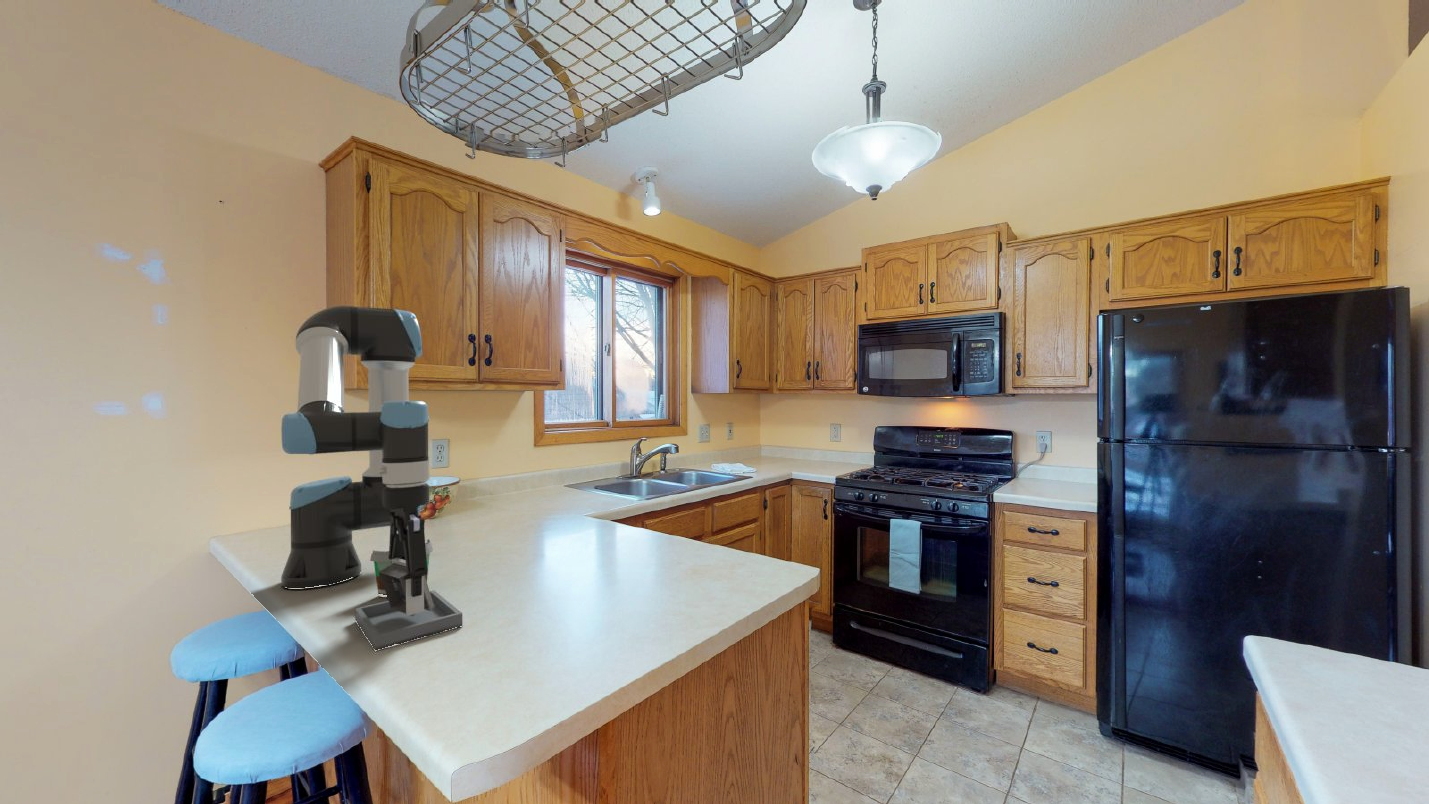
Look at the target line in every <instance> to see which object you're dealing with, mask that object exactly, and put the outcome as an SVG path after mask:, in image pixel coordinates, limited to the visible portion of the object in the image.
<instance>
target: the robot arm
mask: <svg viewBox="0 0 1429 804" xmlns="http://www.w3.org/2000/svg"><path fill="white" fill-rule="evenodd" d="M418 321H419V320H418V319H417V316H416V315H415V313H413V312H411V311H408V310H404V309H403V310H402V309H395V308H381V307H368V306H367V307H366V306H353V305H336V306H331V307H326V308H323V309H322V310H320V311H317V312H316V313H314V314H312V315H311V316H310V317H308V318H307V319H306V320H305V321H304V322H303V323H302V325H301V326H300V327H299V329H298V330H297V333H296V337H295V350H296V351H297V353H298V354H299V355H300V362H299V363H300V365H299V376H298V377H299V380H298V393H297V396H298V397H297V412H293V413H287V414H284V415H283V417H282V419H281V428H280V429H281V448H282V450H283V451H284V452H285V453H286V454H288V455H310V456H311V455H317V454H319V455H320V454H332V453H333V454H335V453H336V454H337V453H347V452H369V454H368V456H369V462H368V463H369V464H368V465H369V466H368V467H367V469H365V471H363V473H362V474H361V475H362V476H361V479H362V480H361V481H353V479H352V477H351V476H338V477H330V478H326V479H325V478H324V479H320V480H316V481H315V480H314V481H311V482H307V483H303V484H300V485H297V486H296V487H295V488H293V489H292V490H291V493H290V504H289V506H288V508H289V510H290V552H289V556H288V557H287V561H286V563H285V565H284V568H283V571H282V574H281V577H280V578H281V585H282V586H283V587H287V588H305V587H314V586H319V585H329V584H333V583H337V582H340V581H343V580H346V579H349V578H351V577H355V576H357V575H359V574H360V572H361V573H362V562H361V559H360V558H359V555H358V552H357V550H356V548H355V546H354V543H353V531H362V530H363V531H364V530H369V529H377V528H384V527H389V548H388V551H389V556H388V557H389V559H390V560H392V559H395V558H399V559H403V560H406V568H407V575H406V576H404V577H403V580H406V615H407V616H409V615H413V614H417V613H421V612H424V575H427V573H428V574H429V568H428V569H427V559H426V546H425V543H426V537H425V534H426V533H425V522H426V520H425V519H424V517H422V515H420V513H421V509H422V506H425V505H427V504H428V503H429V502H430V485H429V484H428V483H427V482H428V481H429V480H430V459H429V422H430V416H429V412H428V410H429V408H428V404H427V403H426V402H424V401H422V400H411V401H410V395H409V394H410V391H409V390H410V387H409V382H410V381H409V374H410V373H409V370H410V369H411V368H412V367H414V366H415V365H416V358H420V357H422V354H423V348H422V346H423V342H422V335H421V329H420V328H421V327H420V325H419V322H418ZM346 355H352V356H353V355H354V356H355V355H356V356H360V363H361V365H362V366H364V367H365V368H366V369H367V372H368V375H367V376H368V412H366V411H361V412H360V411H359V412H357V411H355V412H354V411H353V412H352V411H351V412H346V401H345V398H346V397H345V396H346V395H345V375H344V374H345V372H344V369H345V368H344V366H345V365H344V363H345V362H344V357H345V356H346ZM391 563H392V561H391ZM417 568H419V569H417ZM415 569H416V570H415ZM360 575H361V574H360ZM360 575H359V576H360ZM357 577H358V576H357ZM281 585H280V586H281ZM282 586H281V587H282ZM283 587H282V588H283Z"/></svg>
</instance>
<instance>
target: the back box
mask: <svg viewBox="0 0 1429 804" xmlns="http://www.w3.org/2000/svg"><path fill="white" fill-rule="evenodd" d="M429 591H430V594H431V597H432V600H433V603H434V609H432V610H431V611H428V610H425V609H424V612H421V613H417V614H415V615H414V616H410V615H409V616H407V615H406V614H405V613H402V612H400V611H397V610H395V609H392V608H393V607H392V608H391V606H390V603H389V600H386V601H382V602H377V603H372V604H369V605H365V606H360V607H357V608H354V611H355V612H354V615H355V617H354V621H355V620H356V621H357V623H358V625H359V627H361V629H362V631H363V632H364V634H365V636H366V637H367V638H368V640H369V641H370V643H371V644H372V646H373V648H374V649H375V650H378V649H382V648H385V647H388V646H392V645H394V644H401V643H404V642H407V641H411V640H414V639H417V638H421V637H424V636H429V637H431V636H430V635H432V636H434V635H433V634H436V633H439V634H441V633H440V632H443V631H445V630H449V629H452V628H455V627H460V626H462V627H463V612H462V611H460V610H459V609H458V608H457V607H455V605H453V604H452V603H450V601H448V600H447V599H445V597H444V596H442V595H440V594H439V593H438V592H437V591H436V590H434V589H433V590H429ZM405 608H406V607H405ZM358 625H357V626H358ZM359 627H358V628H359ZM460 628H461V627H460ZM362 631H361V632H362ZM443 633H444V632H443ZM364 634H363V635H364ZM436 635H437V634H436ZM365 636H364V637H365ZM366 637H365V638H366ZM368 640H367V641H368ZM411 642H412V641H411ZM370 643H369V644H370ZM404 644H405V643H404ZM401 645H402V644H401ZM372 646H371V647H372ZM373 648H372V649H373ZM374 649H373V650H374Z"/></svg>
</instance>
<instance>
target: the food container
mask: <svg viewBox="0 0 1429 804" xmlns="http://www.w3.org/2000/svg"><path fill="white" fill-rule="evenodd" d="M425 546H426V559H427V569H428V570H429V565H430V564H429V563H430V555H431V553H432V552H433V551H434V548H433V543H432V542H431V539H429V538H427V542H425ZM388 556H389V550H388V551H383V550H382V551H381V550H379V551H378V550H372V553H371V556H370V559H369V561H371V562H373V565H374V572H375V580H376V587H377V589H376V590H377V595H378V594H383V595H386V592H385V589H384V586H383V584H382V581H381V578H380V575H379V571H381V570H383V569H385V568H386V567H388V566H390V565H391V564H392V563H391V560H390V559H389V557H388ZM428 574H429V572H428V573H427V575H424V576H425V579H426V582H427V583H428Z"/></svg>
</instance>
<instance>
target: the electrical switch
mask: <svg viewBox="0 0 1429 804" xmlns="http://www.w3.org/2000/svg"><path fill="white" fill-rule="evenodd" d="M391 561H392V564H391V565H390V566H388V567H386V568H385V569H383V570H381V571H379V575H380V578H381V581H382V584H383V586H384V589H385V592H386V595H387V598H386V599H388V600H387V601H389V603H390V606H391V608H392V607H393V608H392V609H395V610H397V611H400V612H402V613H405V614H406V608H405V607H406V580H403V577H404V576H406V575H407V568H406V560H403V559H399V558H395V559H392V560H391ZM417 569H419V568H417ZM415 570H416V569H415ZM430 591H431V590H430V588H429V585H428V581H427V582H426V579H425V576H424V609H425V610H428V611H431V610H432V609H434V603H433V600H432V597H431V594H430ZM414 615H415V614H413V615H410V616H414Z"/></svg>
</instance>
